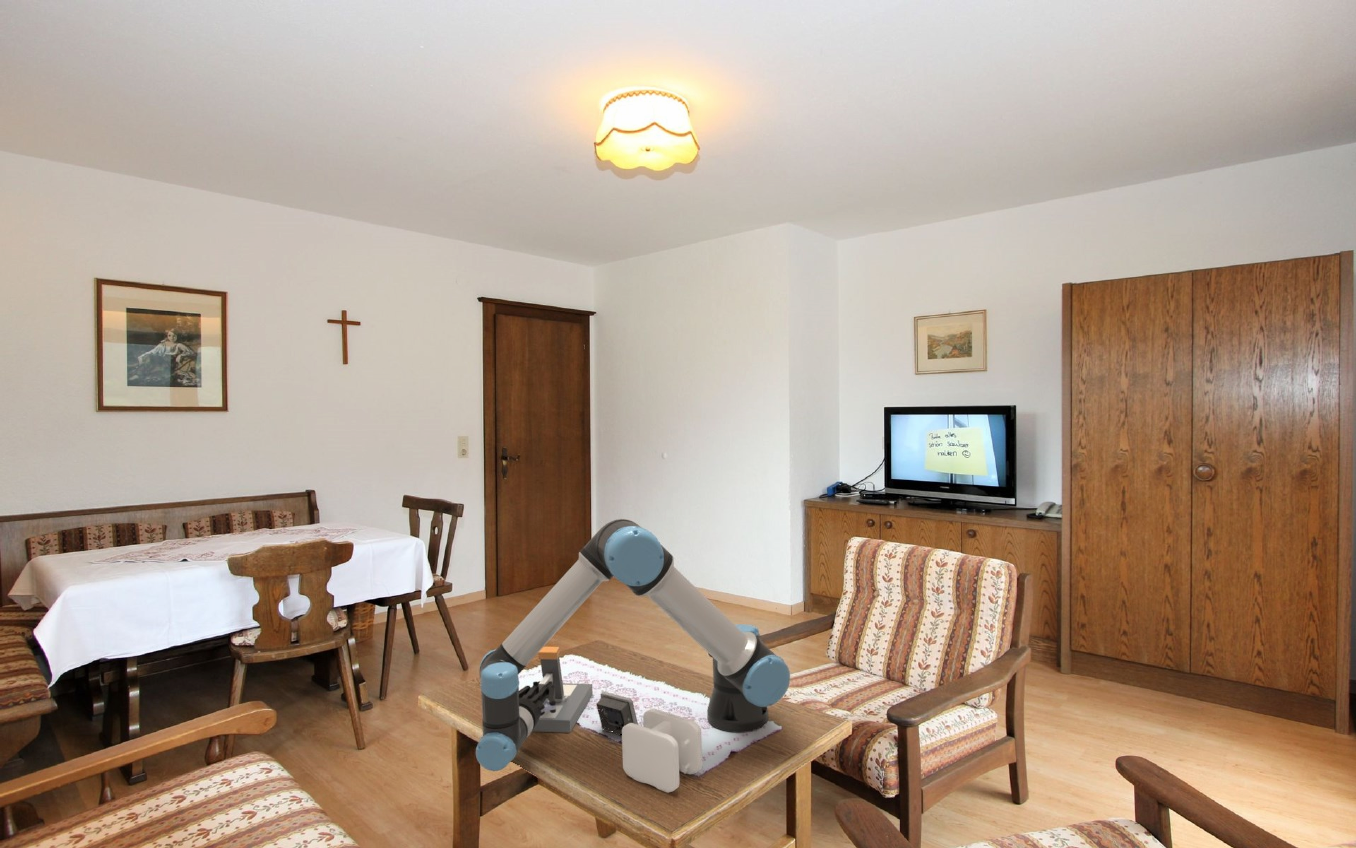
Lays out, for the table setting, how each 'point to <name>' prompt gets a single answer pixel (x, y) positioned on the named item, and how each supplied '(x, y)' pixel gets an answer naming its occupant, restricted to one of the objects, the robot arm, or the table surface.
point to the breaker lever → (552, 668)
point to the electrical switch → (615, 712)
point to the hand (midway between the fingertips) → (549, 679)
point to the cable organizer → (661, 749)
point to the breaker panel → (565, 709)
